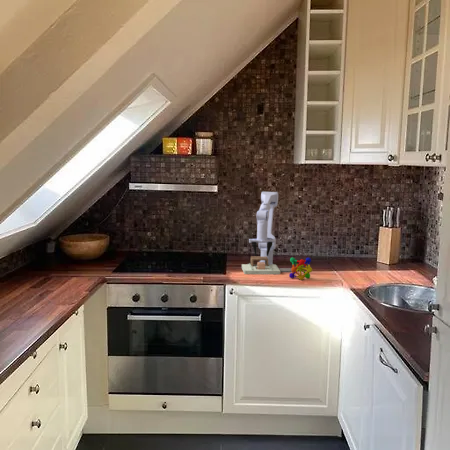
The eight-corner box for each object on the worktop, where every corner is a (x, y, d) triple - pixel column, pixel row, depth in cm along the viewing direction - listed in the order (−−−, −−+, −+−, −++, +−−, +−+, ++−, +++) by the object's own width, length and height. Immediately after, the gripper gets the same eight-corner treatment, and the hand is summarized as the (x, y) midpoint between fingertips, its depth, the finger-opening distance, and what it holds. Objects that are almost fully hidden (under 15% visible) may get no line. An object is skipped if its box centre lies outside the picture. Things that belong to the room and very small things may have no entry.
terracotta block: (257, 271, 273) (257, 262, 272) (263, 271, 273) (264, 262, 272) (257, 272, 269) (258, 263, 268) (265, 272, 269) (265, 263, 268)
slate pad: (279, 269, 278) (279, 268, 278) (291, 269, 278) (291, 268, 278) (281, 272, 271) (281, 271, 271) (293, 272, 272) (293, 271, 272)
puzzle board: (241, 267, 280) (241, 263, 280) (275, 267, 281) (275, 263, 281) (244, 274, 264) (244, 269, 264) (280, 274, 266) (280, 269, 265)
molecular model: (309, 277, 260) (310, 256, 258) (312, 280, 253) (313, 259, 251) (288, 277, 260) (289, 256, 258) (290, 280, 253) (291, 259, 251)
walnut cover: (250, 263, 282) (250, 256, 281) (266, 263, 282) (266, 256, 282) (251, 266, 275) (252, 258, 274) (268, 266, 275) (268, 259, 275)
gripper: (250, 232, 263) (249, 256, 265) (276, 232, 264) (275, 256, 266) (248, 230, 270) (248, 254, 272) (274, 230, 271) (273, 254, 273)
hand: (261, 255), depth 270 cm, fingers open, 6 cm apart
